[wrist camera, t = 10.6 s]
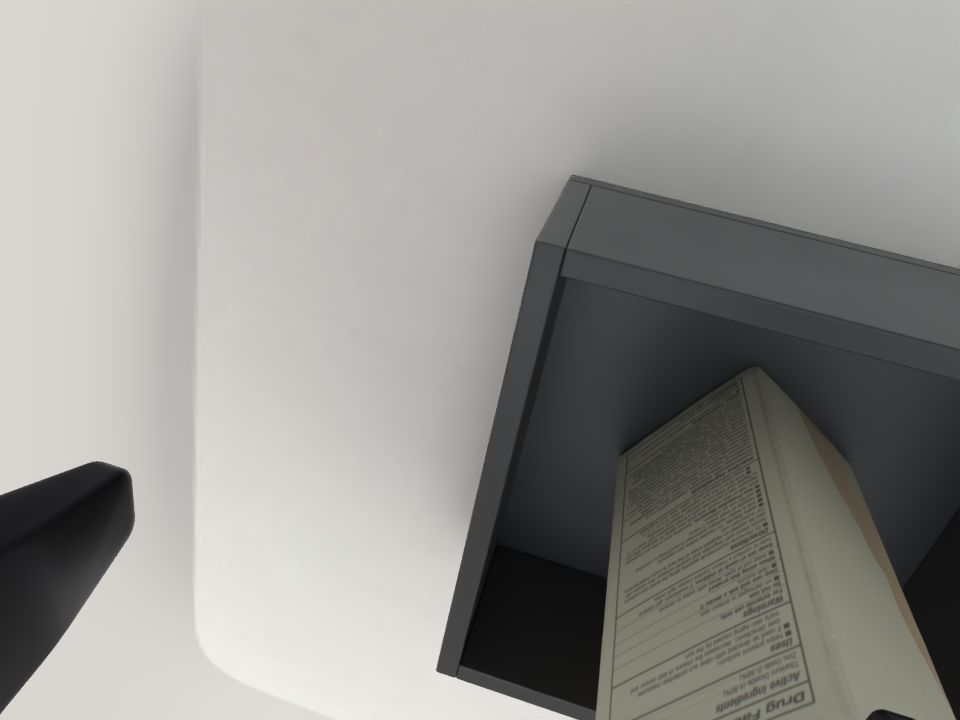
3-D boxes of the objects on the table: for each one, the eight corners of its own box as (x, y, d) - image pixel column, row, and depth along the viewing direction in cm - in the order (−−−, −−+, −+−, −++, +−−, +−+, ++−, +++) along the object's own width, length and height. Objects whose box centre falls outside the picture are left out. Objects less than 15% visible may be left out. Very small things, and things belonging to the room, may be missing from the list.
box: (706, 544, 22) (733, 974, 12) (612, 453, 21) (564, 836, 12) (863, 459, 19) (1049, 921, 10) (762, 353, 19) (859, 738, 9)
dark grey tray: (481, 539, 25) (435, 672, 20) (571, 173, 18) (534, 240, 13) (861, 658, 23) (911, 833, 18) (1111, 305, 17) (1291, 434, 12)
